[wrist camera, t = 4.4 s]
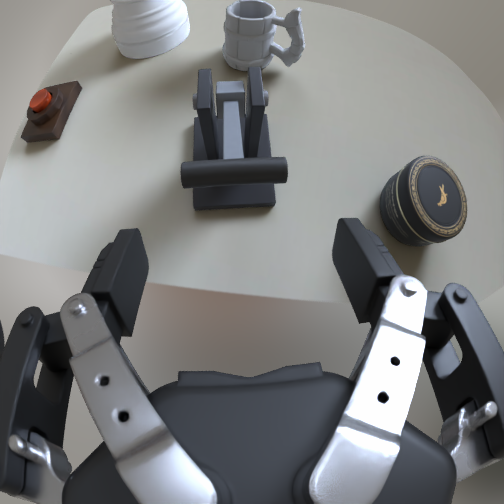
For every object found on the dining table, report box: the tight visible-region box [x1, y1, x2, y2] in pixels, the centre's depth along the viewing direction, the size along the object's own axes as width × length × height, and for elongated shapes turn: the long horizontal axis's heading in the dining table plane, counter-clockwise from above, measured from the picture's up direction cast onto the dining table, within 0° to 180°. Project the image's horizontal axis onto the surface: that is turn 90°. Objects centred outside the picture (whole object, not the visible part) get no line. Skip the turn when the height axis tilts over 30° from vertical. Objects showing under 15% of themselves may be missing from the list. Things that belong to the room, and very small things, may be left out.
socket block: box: [21, 81, 82, 143], centre depth 30 cm, size 10×8×4 cm
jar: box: [380, 156, 467, 246], centre depth 29 cm, size 10×10×8 cm
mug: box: [222, 0, 305, 71], centre depth 29 cm, size 8×12×12 cm, turn 66°
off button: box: [30, 89, 52, 113], centre depth 28 cm, size 4×4×2 cm
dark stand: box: [193, 67, 276, 211], centre depth 25 cm, size 12×9×14 cm
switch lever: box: [181, 81, 288, 189], centre depth 17 cm, size 12×6×2 cm, turn 5°
